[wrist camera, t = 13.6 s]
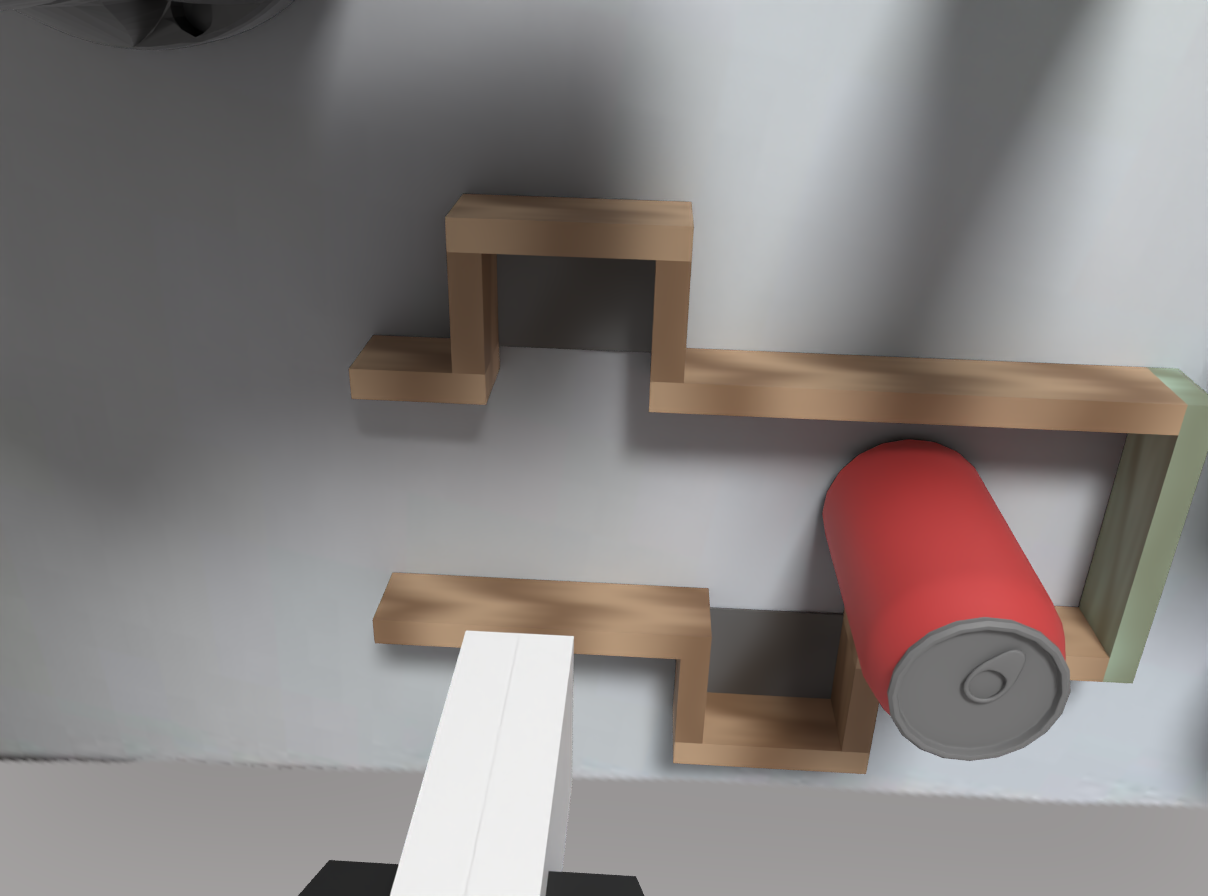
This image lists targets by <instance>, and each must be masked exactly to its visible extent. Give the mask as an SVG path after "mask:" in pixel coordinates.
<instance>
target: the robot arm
mask: <svg viewBox="0 0 1208 896" xmlns="http://www.w3.org/2000/svg"><path fill="white" fill-rule="evenodd" d="M293 1H294V0H0V11H5V10H15V11H18V12H20V13H22V14H24V15H26V16H28V17H30V18H32V19H34V20H37V21H39V22H41V23H43V24H45V25H47V26H49V27H51V28H54V29H56V30H59V31H61V32H63V33H66V34H68V35H71V36H74V37H77V38H80V39H83V40H87V41H91V42H95V43H99V44H103V45H109V46H114V47H121V48H130V49H140V50H165V49H177V48H184V47H190V46H195V45H199V44H203V43H207V42H211V41H216V40H220V39H224V38H228V37H231V36H234V35H237V34H239V33H242V32H245V31H247V30H249V29H251V28H254V27H256V26H258V25H259V24H261V23H263V22H265V21H267V20H268V19H270V18H272V17H273V16H275V15H276V14H278V13H279V12H280V11H282V10H283V9H284V8H286V7H287V6H288V5H289V4H291V3H292V2H293ZM573 667H574V636H561V635H542V634H523V633H504V632H485V631H466V632H465V635H464V639H463V642H462V646H461V649H460V653H459V656H458V660H457V663H456V667H455V670H454V674H453V677H452V681H451V684H450V688H449V691H448V695H447V698H446V702H445V705H444V709H443V712H442V716H441V719H440V723H439V726H438V729H437V733H436V736H435V740H434V743H433V747H432V750H431V754H430V757H429V761H428V764H427V768H426V771H425V775H424V779H423V782H422V785H421V789H420V792H419V796H418V799H417V803H416V806H415V810H414V813H413V817H412V821H411V824H410V828H409V831H408V834H407V838H406V841H405V845H404V848H403V852H402V855H401V859H400V862H399V864H383V863H366V862H351V861H350V862H349V861H335V860H329V861H328V862H327V863H326V865H325V866H324V867H323V868H322V869H321V870H320V871H319V873H318V874H317V875H316V876H315V877H314V878H313V879H312V880H311V882H310V883H309V884H308V885H307V886H306V887H305V888H304V890H303V891H302V892H301V893H300V894H299V895H298V896H644V894H643V892H642V889H641V887H640V885H639V882H638V880H637V878H636V876H621V875H604V874H589V873H588V874H587V873H572V872H562V869H563V860H564V852H565V843H566V834H567V824H568V815H569V806H570V797H571V788H572V745H573Z"/></svg>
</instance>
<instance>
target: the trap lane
mask: <svg viewBox="0 0 1208 896" xmlns="http://www.w3.org/2000/svg"><path fill="white" fill-rule="evenodd" d="M693 229H694V225H693V214H692V203H691V202H678V201H651V200H623V199H596V198H568V197H541V196H513V195H486V194H463V195H462V196H461V197H460V198H459V200H458V201H457V202H456V204H455V205H454V206H453V207H452V209H451V210H450V211H449V213H448V214H447V215H446V217H445V230H446V252H447V273H448V295H449V316H450V338H432V337H408V336H384V335H373V336H372V337H371V339H370V340H369V341H368V343H367V344H366V346H365V347H364V348H363V350H362V351H361V352H360V354H359V355H358V357H357V358H356V359H355V361H354V362H353V364H352V365H351V366H350V368H349V377H350V388H351V398H352V399H366V400H389V401H411V402H434V403H457V404H479V405H486V403H487V401H488V398H489V395H490V393H491V390H492V387H493V385H494V382H495V380H496V377H497V374H498V372H499V369H500V361H499V346H511V347H534V348H558V349H582V350H606V351H630V352H651V370H650V396H649V412H660V413H683V414H705V415H728V416H751V417H773V418H796V419H819V420H841V421H864V422H886V423H909V424H932V425H954V426H977V427H1000V428H1022V429H1045V430H1067V431H1090V432H1113V433H1128V434H1127V438H1126V442H1125V445H1124V449H1123V452H1122V456H1121V459H1120V463H1119V466H1118V470H1117V473H1116V477H1115V481H1114V484H1113V488H1112V491H1111V495H1110V498H1109V502H1108V505H1107V509H1106V512H1105V516H1104V520H1103V523H1102V527H1101V530H1100V534H1099V537H1098V541H1097V544H1096V548H1095V551H1094V555H1093V558H1092V562H1091V566H1090V569H1089V573H1088V576H1087V580H1086V583H1085V587H1084V590H1083V594H1082V597H1081V601H1080V605H1079V607H1064V606H1054V607H1055V609H1056V611H1057V613H1058V615H1059V617H1060V619H1061V622H1062V624H1063V630H1064V635H1065V652H1066V663H1067V666H1068V668H1069V670H1070V680H1078V681H1097V682H1116V683H1133V680H1134V677H1135V674H1136V671H1137V668H1138V665H1139V662H1140V659H1141V656H1142V653H1143V650H1144V647H1145V643H1146V640H1147V637H1148V634H1149V631H1150V628H1151V625H1152V622H1153V619H1154V616H1155V613H1156V610H1157V606H1158V603H1159V600H1160V597H1161V594H1162V591H1163V588H1164V585H1165V582H1166V579H1167V576H1168V573H1169V569H1170V566H1171V563H1172V560H1173V557H1174V554H1175V551H1176V548H1177V545H1178V542H1179V539H1180V535H1181V532H1182V529H1183V526H1184V523H1185V520H1186V517H1187V514H1188V511H1189V508H1190V505H1191V502H1192V498H1193V495H1194V492H1195V489H1196V486H1197V483H1198V480H1199V477H1200V474H1201V471H1202V468H1203V465H1204V461H1205V458H1206V455H1207V452H1208V394H1207V393H1206V392H1205V391H1204V390H1203V389H1201V388H1200V387H1199V386H1198V385H1197V384H1196V383H1194V382H1193V381H1192V380H1191V379H1190V378H1189V377H1187V376H1186V375H1185V374H1184V373H1183V372H1182V371H1180V370H1179V369H1173V368H1149V367H1125V366H1102V365H1078V364H1054V363H1030V362H1006V361H982V360H958V359H934V358H910V357H886V356H862V355H838V354H814V353H790V352H767V351H743V350H719V349H695V348H686V339H687V324H688V308H689V292H690V277H691V261H692V245H693ZM373 629H374V639H375V643H383V644H401V645H420V646H439V647H458V648H461V646H462V642H463V639H464V635H465V632H466V631H485V632H504V633H523V634H542V635H561V636H574V654H589V655H608V656H627V657H646V658H664V659H676V670H675V684H674V699H673V763H681V764H698V765H716V766H734V767H751V768H769V769H786V770H804V771H821V772H839V773H856V774H866V771H867V765H868V760H869V755H870V749H871V744H872V738H873V733H874V728H875V722H876V717H877V711H878V706H879V701H878V700H877V698H876V697H875V695H874V693H873V692H872V690H871V688H870V687H869V685H868V683H867V682H866V680H865V678H864V677H863V674H862V670H861V666H860V662H859V659H858V655H857V651H856V647H855V644H854V640H853V636H852V632H851V629H850V625H849V621H848V618H847V614H846V610H845V606H844V613H843V614H829V613H810V612H790V611H771V610H751V609H732V608H712V607H710V603H709V589H708V588H689V587H669V586H649V585H629V584H609V583H590V582H570V581H550V580H530V579H511V578H491V577H471V576H451V575H431V574H412V573H392V575H391V578H390V580H389V582H388V585H387V587H386V589H385V592H384V594H383V597H382V599H381V601H380V604H379V606H378V608H377V611H376V613H375V615H374V618H373Z"/></svg>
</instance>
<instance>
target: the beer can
mask: <svg viewBox="0 0 1208 896" xmlns="http://www.w3.org/2000/svg"><path fill="white" fill-rule="evenodd" d="M822 516H823V522H824V529H825V535H826V539H827V543H828V546H829V550H830V554H831V558H832V561H833V565H834V569H835V573H836V576H837V580H838V584H839V588H840V591H841V595H842V599H843V603H844V606H845V610H846V614H847V618H848V621H849V625H850V629H851V632H852V636H853V640H854V644H855V647H856V651H857V655H858V659H859V662H860V666H861V670H862V674H863V677H864V678H865V680H866V682H867V683H868V685H869V687H870V688H871V690H872V692H873V693H874V695H875V697H876V698H877V700H878V701H879V703H880V704H881V706H882V708H883V709H884V710H885V711H886V712H887V713H888V714H889V715H890V716H891V718H892V719H893V721H894V723H895V724H896V726H897V728H898V729H899V731H900V733H901V734H902V735H903V736H904V737H905V738H907V739H908V740H909V741H910V742H912V743H913V744H914V745H915V746H917V747H918V748H919V749H921V750H924V751H926V752H929V753H932V754H934V755H937V756H940V757H942V758H948V759H958V760H967V761H972V760H980V759H988V758H996V757H1000V756H1003V755H1005V754H1008V753H1011V752H1014V751H1016V750H1019V749H1022V748H1024V747H1026V746H1027V745H1029V744H1030V743H1032V742H1033V741H1034V740H1036V739H1037V738H1039V737H1040V736H1042V735H1043V734H1045V733H1046V732H1047V731H1048V730H1049V729H1050V727H1051V726H1052V725H1053V724H1054V723H1055V721H1056V720H1057V719H1058V718H1059V717H1060V716H1061V714H1062V713H1063V710H1064V707H1065V705H1066V702H1067V700H1068V697H1069V694H1070V670H1069V668H1068V666H1067V663H1066V652H1065V635H1064V630H1063V624H1062V622H1061V619H1060V617H1059V615H1058V613H1057V611H1056V609H1055V607H1054V605H1053V603H1052V601H1051V599H1050V597H1049V596H1048V594H1047V592H1046V590H1045V589H1044V587H1043V585H1042V583H1041V582H1040V580H1039V578H1038V576H1037V575H1036V573H1035V571H1034V570H1033V568H1032V566H1031V564H1030V563H1029V561H1028V559H1027V557H1026V556H1025V554H1024V552H1023V550H1022V549H1021V547H1020V545H1019V544H1018V542H1017V540H1016V538H1015V537H1014V535H1013V533H1012V531H1011V530H1010V528H1009V526H1008V524H1007V523H1006V521H1005V519H1004V518H1003V516H1002V514H1001V512H1000V511H999V509H998V507H997V505H996V504H995V502H994V500H993V498H992V497H991V495H990V493H989V492H988V490H987V488H986V486H985V485H984V483H983V481H982V479H981V478H980V476H979V474H978V472H977V471H976V469H975V467H974V466H972V465H971V464H970V463H969V462H968V461H967V460H966V459H965V458H964V457H963V456H962V455H960V454H959V453H958V452H957V451H954V450H952V449H950V448H947V447H945V446H943V445H940V444H938V443H936V442H930V441H920V440H911V439H906V440H900V441H894V442H888V443H883V444H880V445H878V446H876V447H874V448H872V449H870V450H867V451H865V452H863V453H861V454H859V455H858V456H857V457H855V458H854V459H853V460H852V461H851V462H850V463H849V464H847V465H846V466H845V467H844V468H843V469H842V470H841V471H840V472H839V473H838V475H837V477H836V478H835V480H834V482H833V483H832V485H831V486H830V488H829V490H828V491H827V494H826V499H825V503H824V508H823V512H822Z"/></svg>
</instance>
